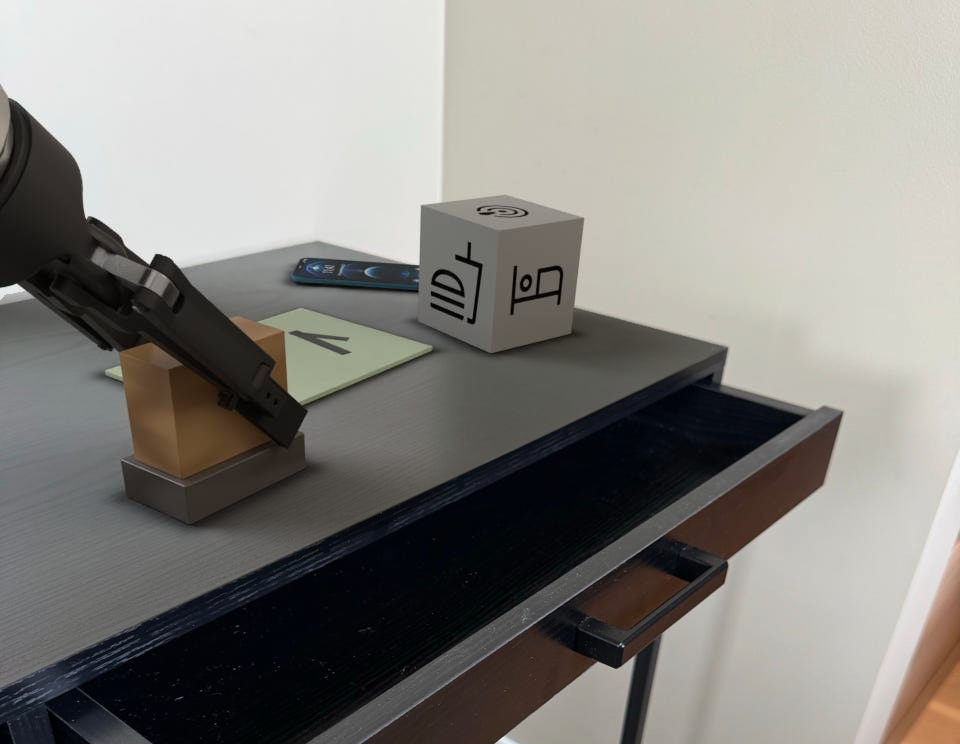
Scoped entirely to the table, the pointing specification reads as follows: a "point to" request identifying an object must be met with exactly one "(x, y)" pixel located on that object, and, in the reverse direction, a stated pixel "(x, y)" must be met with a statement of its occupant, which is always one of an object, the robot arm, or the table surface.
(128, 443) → the table surface
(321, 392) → the marker board
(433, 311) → the icon cube
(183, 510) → the eraser
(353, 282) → the smartphone
